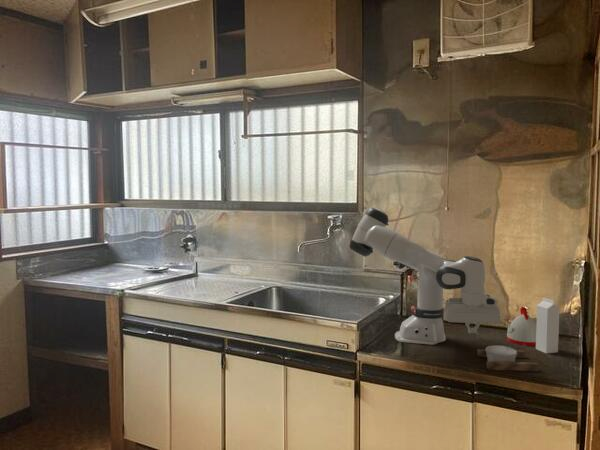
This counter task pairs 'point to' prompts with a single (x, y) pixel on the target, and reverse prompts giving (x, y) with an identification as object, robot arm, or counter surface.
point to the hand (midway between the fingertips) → (472, 333)
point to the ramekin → (501, 353)
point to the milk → (547, 326)
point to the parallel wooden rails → (509, 363)
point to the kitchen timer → (522, 330)
